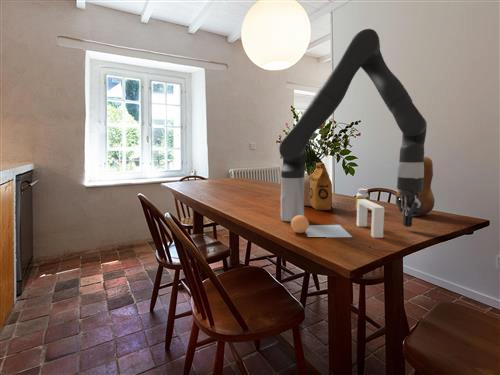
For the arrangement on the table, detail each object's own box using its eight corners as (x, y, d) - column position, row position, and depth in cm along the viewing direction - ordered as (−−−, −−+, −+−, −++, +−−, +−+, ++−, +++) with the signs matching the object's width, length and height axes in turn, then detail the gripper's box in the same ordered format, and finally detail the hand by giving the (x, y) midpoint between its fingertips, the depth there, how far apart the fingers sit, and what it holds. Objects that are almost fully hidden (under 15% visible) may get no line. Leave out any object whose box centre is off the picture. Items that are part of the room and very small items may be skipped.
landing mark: (308, 237, 88) (308, 237, 88) (301, 225, 102) (301, 225, 102) (352, 237, 88) (352, 236, 88) (339, 225, 102) (339, 225, 102)
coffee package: (312, 210, 127) (313, 163, 124) (306, 205, 140) (307, 162, 137) (334, 210, 127) (335, 162, 124) (326, 205, 140) (327, 161, 137)
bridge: (373, 237, 87) (374, 207, 86) (356, 225, 102) (357, 199, 101) (383, 237, 87) (384, 207, 86) (364, 224, 102) (365, 199, 101)
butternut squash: (430, 212, 120) (434, 154, 116) (436, 219, 108) (440, 155, 104) (394, 210, 125) (397, 155, 122) (396, 216, 113) (399, 155, 110)
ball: (296, 238, 91) (289, 222, 90) (294, 232, 97) (287, 217, 96) (313, 230, 91) (305, 214, 90) (309, 225, 96) (302, 210, 96)
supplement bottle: (367, 211, 123) (368, 190, 122) (354, 210, 126) (355, 189, 125) (369, 209, 128) (370, 188, 127) (356, 208, 131) (357, 188, 129)
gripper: (389, 174, 98) (387, 221, 101) (409, 177, 85) (406, 232, 88) (410, 174, 98) (407, 221, 100) (434, 177, 85) (430, 231, 87)
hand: (407, 226), depth 94 cm, fingers closed
